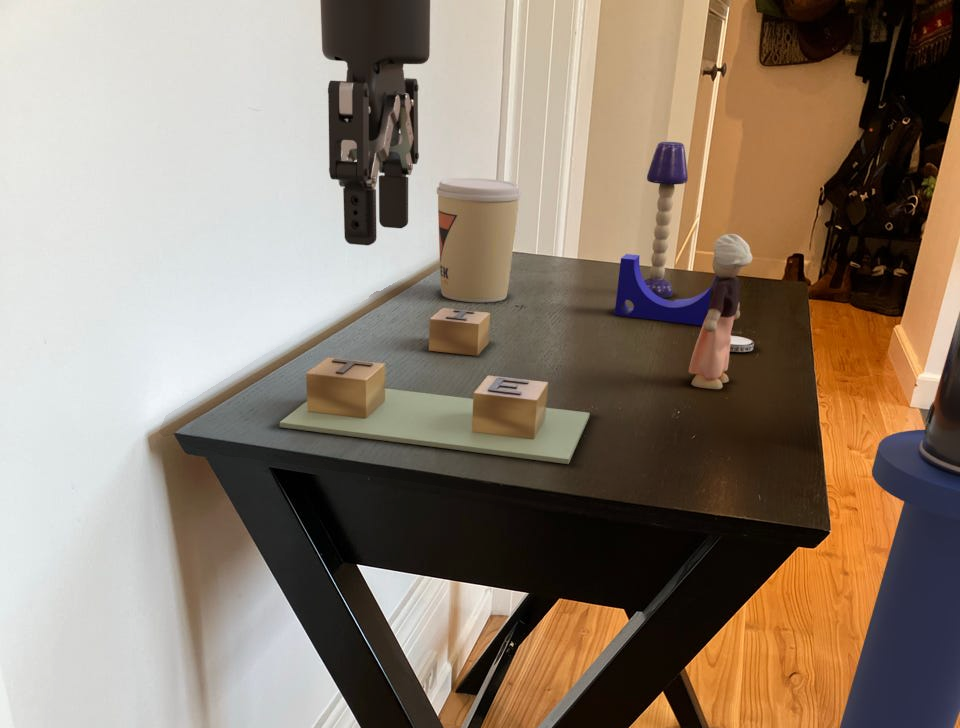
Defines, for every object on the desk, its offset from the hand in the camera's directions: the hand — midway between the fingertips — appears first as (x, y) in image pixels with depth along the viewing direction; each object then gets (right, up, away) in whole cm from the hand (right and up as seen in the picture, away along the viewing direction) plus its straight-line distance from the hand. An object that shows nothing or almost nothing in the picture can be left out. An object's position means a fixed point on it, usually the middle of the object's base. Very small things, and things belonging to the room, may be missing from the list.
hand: (378, 235), depth 77 cm
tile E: (+10, -14, 0) cm, 18 cm away
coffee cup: (+7, +9, +41) cm, 42 cm away
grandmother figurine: (+28, -8, +14) cm, 33 cm away
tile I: (+6, -2, +21) cm, 22 cm away
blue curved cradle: (+29, +5, +36) cm, 47 cm away
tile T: (-3, -12, +3) cm, 13 cm away
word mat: (+5, -14, +2) cm, 15 cm away
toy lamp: (+29, +11, +46) cm, 55 cm away
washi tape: (+33, -1, +26) cm, 42 cm away
